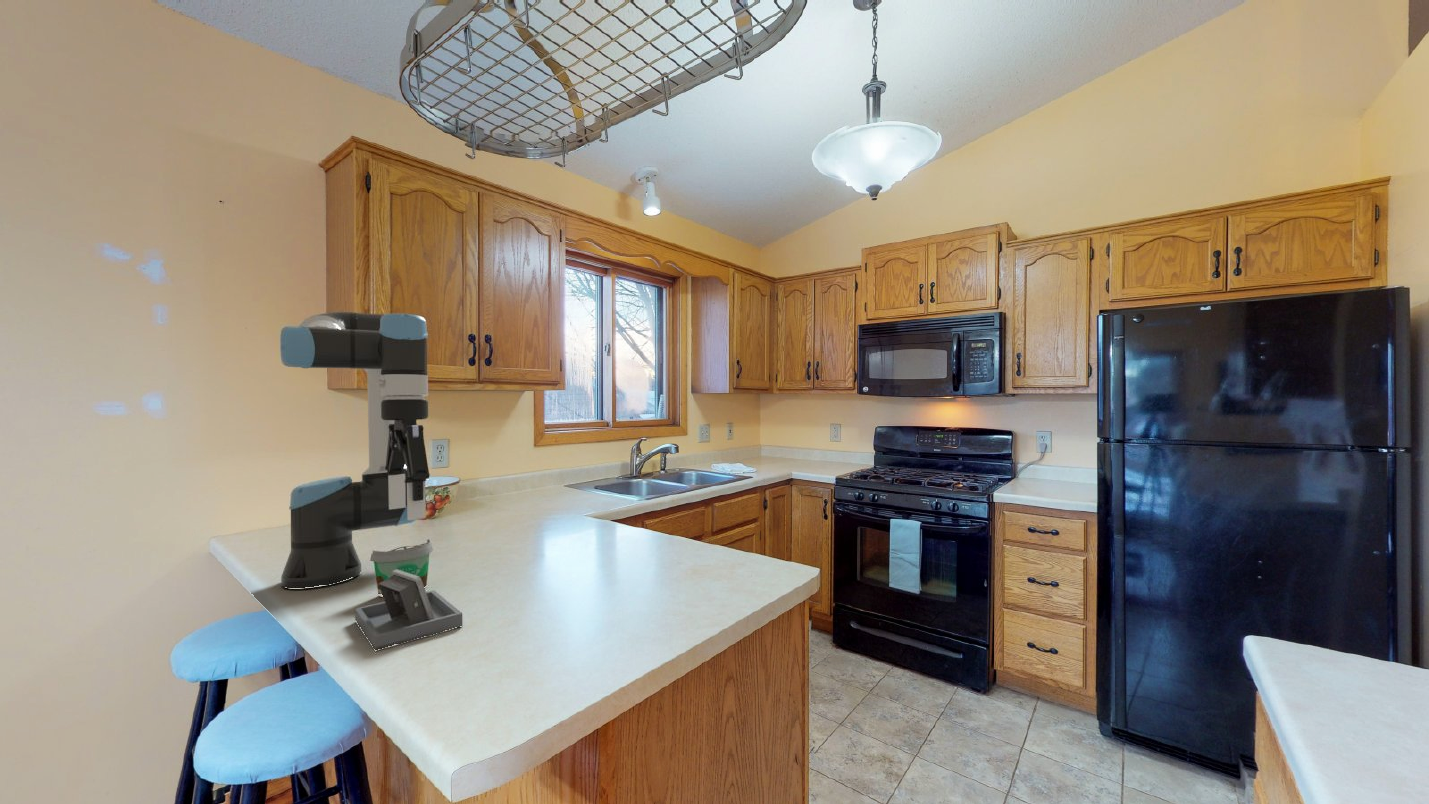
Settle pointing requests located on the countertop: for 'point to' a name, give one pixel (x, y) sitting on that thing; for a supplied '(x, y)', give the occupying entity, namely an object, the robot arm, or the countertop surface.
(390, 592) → the electrical switch
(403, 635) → the back box
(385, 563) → the food container
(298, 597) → the countertop surface
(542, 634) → the countertop surface
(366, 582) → the countertop surface
